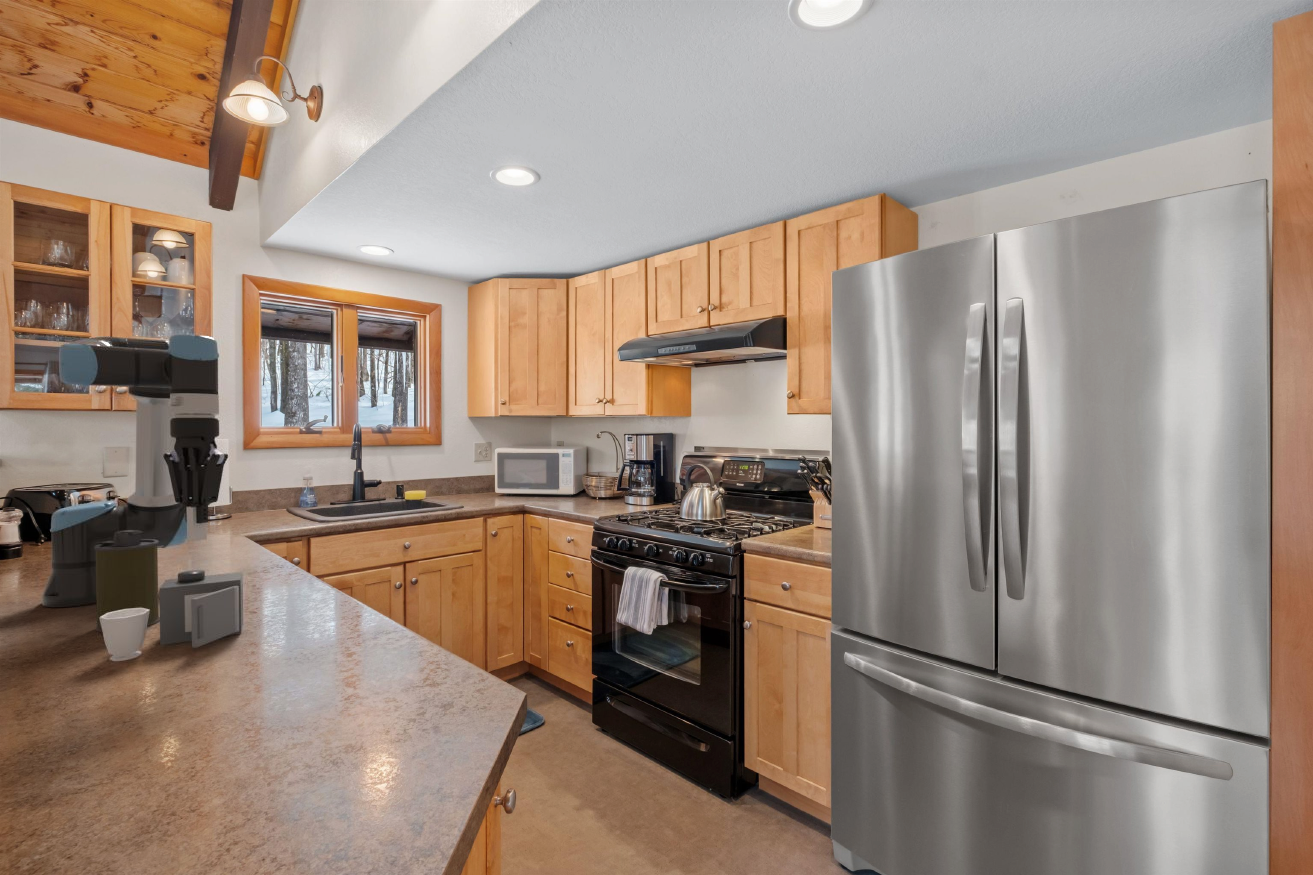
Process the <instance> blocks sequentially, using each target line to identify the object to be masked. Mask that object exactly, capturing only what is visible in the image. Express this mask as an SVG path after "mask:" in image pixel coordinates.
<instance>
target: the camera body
mask: <svg viewBox="0 0 1313 875" xmlns="http://www.w3.org/2000/svg"><path fill="white" fill-rule="evenodd" d="M243 578H244V577H243V571H238V572H229V573H220V574H209V575H206V571H205V570H203V569H194V570H187V571H182V572H179V573H177V578H170V579H165V580H164V581H163V583H162V584H161V586H160V587H158V603H159V617H160V621H159V642H160V643H159V645H160V646H164V645H172V644H177V643H178V644H179V643H185V642H192V622H191V599H193V598H196V597H200V596H203V595H206V594H209V593H213V592H216V591H219V590H222V589H226V588H229V587H231V586H238V588H239V631H238V632H234V633H232V634H229V635H227V637H229V636H232V635H233V636H234V635H240V634H242V631H243V626H244V587H243V586H244V582H243V581H244V580H243Z"/></svg>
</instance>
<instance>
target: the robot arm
mask: <svg viewBox="0 0 1313 875" xmlns="http://www.w3.org/2000/svg"><path fill="white" fill-rule="evenodd" d="M218 350H219V349H218V341H217V340H216V339H215V338H213V337H211V336H207V335H199V334H198V335H197V334H173V335H171V336H170V337H169V339H168V340H164V339H152V338H151V339H148V338H132V337H131V338H129V337H118V336H96V337H87V338H81V339H78V340H77V339H76V340H74V341H71V342H70V343H64V344H61V345H60V346H59V350H58V367H59V370H58V372H59V373H58V374H59V380H60V381H61V383H63V384H66V385H76V386H77V385H79V386H81V387H82V386H83V387H88V386H95V387H96V386H98V387H99V386H100V387H104V386H105V387H122V388H124V387H126V388H127V387H128V393H127V394H128V395H130V396H131V397H132V398H133V399H134V400H135V402H136V408H135V409H136V416H135V418H136V420H135V421H136V422H135V429H136V430H135V485H134V486H135V491H134V492H133V493H132V494H131V495H129V496H128V497H127V501H126V502H127V504H126V505H117V503H116V502H115V500H103V501H94V502H87V503H81V504H75V505H70V506H66V507H64V508H63V507H62V508H59V509H57V510H56V511H54V512H53V513H52V514H51V522H50V529H49V531H50V533H51V573H50V575H49V577H48V580H47V583H46V585H45V587H44V590H43V593H42V595H41V596H42V597H41V600H42V601H41V602H42V603H41V604H42V606H43V607H46V608H69V607H71V608H72V607H77V606H85V605H86V606H87V605H92V604H97V594H96V550H95V549H94V547H95V546H96V545H98V544H99V543H101V542H106V541H113V538H114V533H115V532H119V531H125V530H140V531H142V534H141V539H155V540H158V541H159V542H158V544H157V549H166V548H169V547H176V546H177V547H178V546H181V545H183V544H184V543H186V541H187V542H191V543H193V542H199V541H204V540H207V539H208V538H207V537H208V536H207V535H208V532H207V528H208V526H207V523H208V521H209V506H210V505H211V504H213V503H217V502H218V500H219V495H220V489H221V483H222V477H223V471H224V467H225V465H226V462H227V460H228V459H229V455H228V453H227V452H223V453H222V452H221V451H219V449H218V446H217V443H216V440H215V439H216V438H217V437H219V436H220V420H219V418H217V417H216V416H218V415H220V402H219V401H220V400H219V398H220V396H219V358H220V354H219V352H218Z"/></svg>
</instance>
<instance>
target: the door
mask: <svg viewBox="0 0 1313 875" xmlns="http://www.w3.org/2000/svg"><path fill="white" fill-rule="evenodd" d="M191 622H192V641H191V648H199V647H201V646H204V645H206V644H208V643H212V642H214V641H217V640H219V639H221V638H224V637H226V636H227V635H228V636H230V635H229V634H232V633H234V632H238V631H239V588H238V586H231V587H229V588H226V589H222V590H219V591H216V592H213V593H209V594H206V595H203V596H200V597H196V598H193V599H191ZM228 636H227V637H228Z"/></svg>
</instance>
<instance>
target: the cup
mask: <svg viewBox="0 0 1313 875" xmlns="http://www.w3.org/2000/svg"><path fill="white" fill-rule="evenodd" d="M149 612H150V610H149V609H145V608H131V609H122V610H118V611H113V612H109V613H106V614H105V615H103V616H101V617H99V618H100V623H101V627H102V631H103V632H102V634H103V641H104V644H105V647H106V649H107V651H108V654H109V655H112V656H110V657H109V660H110V661H113V662H122V661H127V660H128V661H129V660H132V659H135V658H138V657H139V656H141V655H142V651H140V649H142V648H143V646H144V645H143V644H144V641H145V638H146V634H147V629H148V626H147V623H148V618H149Z"/></svg>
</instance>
